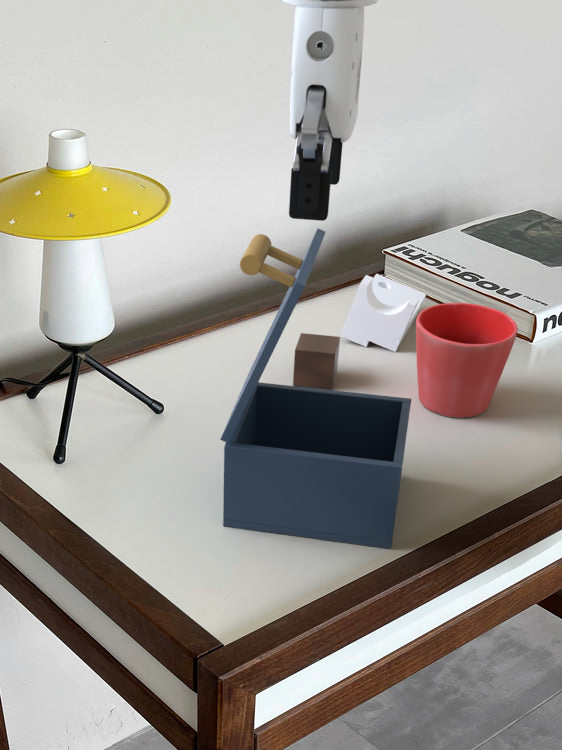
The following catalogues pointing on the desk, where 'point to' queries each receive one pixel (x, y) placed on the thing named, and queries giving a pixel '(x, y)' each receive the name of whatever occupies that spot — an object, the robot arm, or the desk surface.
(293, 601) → the desk surface
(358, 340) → the bracket
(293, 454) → the chest
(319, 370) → the block
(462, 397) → the flower pot
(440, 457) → the desk surface
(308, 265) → the lid
